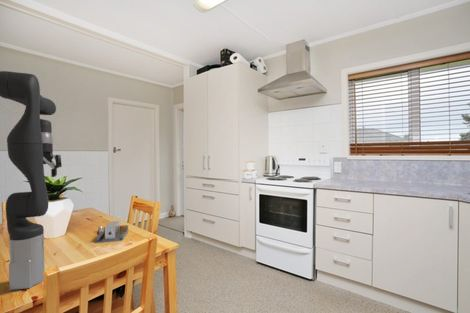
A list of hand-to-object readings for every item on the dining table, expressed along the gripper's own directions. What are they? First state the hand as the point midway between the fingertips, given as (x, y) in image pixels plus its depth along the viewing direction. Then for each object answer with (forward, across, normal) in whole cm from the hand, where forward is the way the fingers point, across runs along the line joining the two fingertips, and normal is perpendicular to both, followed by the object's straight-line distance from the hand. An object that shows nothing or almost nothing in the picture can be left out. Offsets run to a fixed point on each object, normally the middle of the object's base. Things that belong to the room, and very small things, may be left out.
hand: (43, 177), depth 106 cm
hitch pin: (+36, +16, +24) cm, 46 cm away
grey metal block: (+36, +25, +15) cm, 46 cm away
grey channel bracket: (+36, +25, +16) cm, 47 cm away
